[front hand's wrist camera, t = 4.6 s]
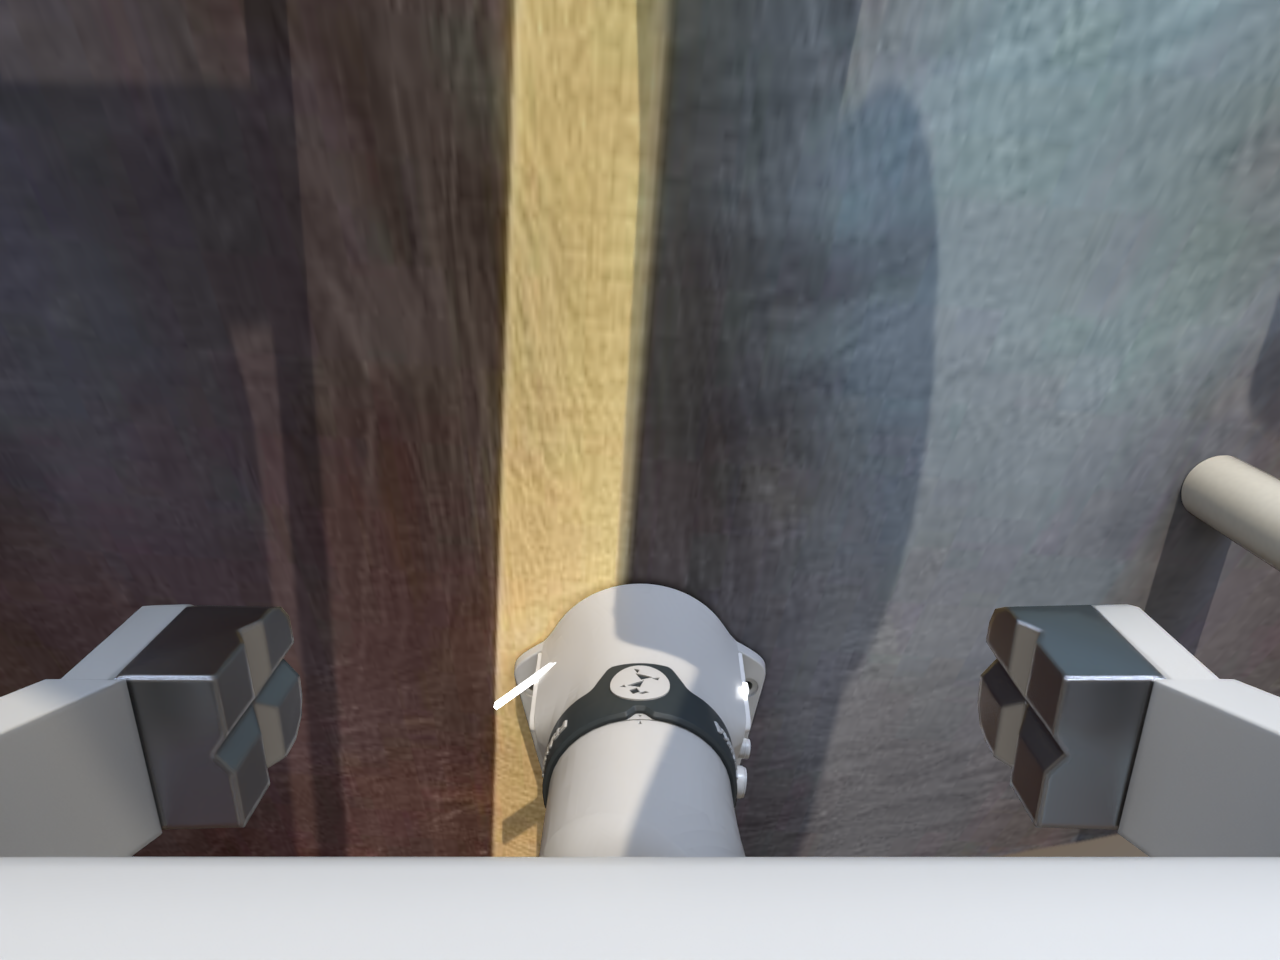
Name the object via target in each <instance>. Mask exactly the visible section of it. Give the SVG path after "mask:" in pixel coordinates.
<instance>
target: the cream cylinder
mask: <svg viewBox="0 0 1280 960" xmlns="http://www.w3.org/2000/svg"><path fill="white" fill-rule="evenodd" d="M1181 498H1182V502H1183V505H1184V507H1185V508H1186V510H1187V511H1188V512H1189V513H1190V514H1192V515H1193V516H1195V517H1196V518H1198V519H1199V520H1201V521H1203V522H1204V523H1206V524H1207V525H1209V526H1210V527H1212V528H1213V529H1215V530H1216V531H1218V532H1219V533H1221V534H1223V535H1224V536H1226V537H1227V538H1229V539H1230V540H1232V541H1233V542H1235V543H1236V544H1238V545H1240V546H1241V547H1243V548H1244V549H1246V550H1247V551H1249V552H1250V553H1252V554H1253V555H1255V556H1256V557H1258V558H1260V559H1261V560H1263V561H1264V562H1266V563H1267V564H1269V565H1270V566H1272V567H1273V568H1275V569H1276V570H1278V571H1280V479H1278V478H1276V477H1274V476H1272V475H1270V474H1268V473H1266V472H1264V471H1262V470H1260V469H1258V468H1256V467H1254V466H1252V465H1250V464H1248V463H1246V462H1244V461H1242V460H1240V459H1238V458H1235V457H1232V456H1215V457H1212V458H1209V459H1206V460H1204V461H1202V462H1201V463H1199V464H1198V465H1197V466H1195V467H1194V468H1193V469H1192V470H1191V471H1190V473H1189V474H1188V475H1187V477H1186V478H1185V481H1184V483H1183V486H1182V490H1181Z"/></svg>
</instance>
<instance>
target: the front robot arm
mask: <svg viewBox="0 0 1280 960" xmlns="http://www.w3.org/2000/svg"><path fill="white" fill-rule="evenodd" d="M293 642H294V639H293V634H292V629H291V624H290V619H289V616H288V614H287V613H286V612H285V611H284V610H283V609H282V607H266V606H212V605H196V606H193V605H191V604H179V605H152V606H142V607H141V608H140V609H139V610H138V611H137V612H135V613H134V614H133V615H132V616H131V617H130V618H129V619H128V620H126V621H125V622H124V623H123V624H122V625H121V626H120V627H119V628H117V629H116V630H115V631H114V632H113V633H112V634H111V635H110V636H108V637H107V638H106V639H105V640H104V641H103V642H102V643H101V644H99V645H98V646H97V647H96V648H95V649H94V650H93V651H92V652H90V653H89V654H88V655H87V656H86V657H85V658H84V659H83V660H81V661H80V662H79V663H78V664H77V665H76V666H75V667H74V668H72V669H71V670H70V671H69V672H68V673H67V674H66V675H65V676H63V677H62V678H61V679H45V680H43V681H40V682H38V683H35V684H33V685H30V686H28V687H25V688H22V689H20V690H17V691H15V692H12V693H10V694H7V695H5V696H2V697H0V960H1280V697H1278V696H1275V695H1273V694H1270V693H1268V692H1265V691H1263V690H1260V689H1257V688H1255V687H1252V686H1250V685H1247V684H1245V683H1242V682H1240V681H1237V680H1235V679H1219V678H1218V677H1217V676H1215V675H1214V674H1213V673H1212V672H1211V671H1210V670H1209V669H1208V668H1206V667H1205V666H1204V665H1203V664H1202V663H1201V662H1200V661H1199V660H1198V659H1196V658H1195V657H1194V656H1193V655H1192V654H1191V653H1190V652H1189V651H1187V650H1186V649H1185V648H1184V647H1183V646H1182V645H1181V644H1180V643H1178V642H1177V641H1176V640H1175V639H1174V638H1173V637H1172V636H1171V635H1169V634H1168V633H1167V632H1166V631H1165V630H1164V629H1163V628H1162V627H1161V626H1159V625H1158V624H1157V623H1156V622H1155V621H1154V620H1153V619H1152V618H1150V617H1149V616H1148V615H1147V614H1146V613H1145V612H1144V611H1143V610H1141V609H1140V608H1139V607H1136V606H1132V605H1129V604H1117V605H1094V606H1091V605H1066V606H1024V607H1003V608H998V609H995V611H994V613H993V615H992V617H991V620H990V622H989V627H988V633H987V639H986V642H987V644H988V646H989V647H990V649H991V650H992V652H993V653H994V655H995V656H996V658H997V659H996V660H995V661H994V662H993V663H992V664H991V665H990V666H989V667H988V668H987V669H986V670H985V671H984V672H983V673H982V675H981V677H980V685H979V693H978V711H979V721H980V727H981V730H982V733H983V736H984V739H985V742H986V744H987V745H988V747H989V749H990V751H991V753H992V754H993V756H994V757H995V758H997V759H998V760H1000V761H1001V762H1003V763H1005V764H1006V765H1008V766H1010V767H1011V768H1013V769H1012V775H1011V781H1010V785H1011V787H1012V788H1013V790H1014V792H1015V793H1016V795H1017V797H1018V798H1019V800H1020V802H1021V803H1022V805H1023V807H1024V808H1025V810H1026V812H1027V813H1028V815H1029V817H1030V818H1031V820H1032V822H1033V823H1034V825H1035V827H1040V828H1077V829H1114V830H1118V834H1119V835H1121V836H1122V837H1123V838H1125V839H1126V840H1128V841H1129V842H1130V843H1132V844H1133V845H1134V846H1136V847H1137V848H1138V849H1140V850H1141V851H1142V852H1144V853H1145V854H1146V855H1148V856H1149V857H745V853H744V850H743V846H742V842H741V839H740V834H739V830H738V826H737V821H736V815H735V810H734V808H735V805H736V799H737V798H738V799H741V798H743V797H744V795H745V791H746V784H747V771H746V768H745V767H743V766H740V763H741V759H748V758H749V755H750V749H751V743H750V739H748V735H749V732H750V728H751V725H752V721H753V718H754V714H755V711H756V707H757V704H758V700H759V697H760V694H761V690H762V687H763V683H764V680H765V675H766V670H765V662H764V660H763V659H762V658H761V657H760V656H759V655H758V654H757V653H755V652H754V651H752V650H751V649H749V648H748V647H746V646H744V645H742V644H741V643H739V642H737V641H736V640H735V639H734V638H733V637H732V636H731V635H730V634H729V632H728V631H727V630H726V628H725V627H724V625H723V624H722V622H721V621H720V620H719V619H718V617H717V616H716V615H715V614H714V613H713V612H712V611H711V610H710V609H709V608H708V607H706V606H705V605H704V604H702V603H701V602H700V601H698V600H697V599H695V598H693V597H691V596H690V595H688V594H685V593H683V592H681V591H678V590H676V589H672V588H669V587H665V586H660V585H654V584H626V585H620V586H615V587H611V588H608V589H604V590H602V591H599V592H597V593H595V594H592V595H590V596H589V597H587V598H585V599H583V600H582V601H580V602H579V603H578V604H576V605H575V606H574V607H573V608H571V609H570V610H569V611H568V612H567V613H566V614H565V615H564V616H563V617H562V619H561V620H560V621H559V623H558V624H557V625H556V627H555V628H554V630H553V631H552V632H551V634H550V635H549V636H548V637H547V638H546V639H545V640H544V641H543V642H541V643H539V644H538V645H536V646H534V647H533V648H531V649H529V650H528V651H526V652H525V653H523V654H522V655H521V656H520V657H519V658H518V659H517V660H516V662H515V671H514V675H515V680H516V683H517V687H515V688H514V689H513V690H511V691H510V692H508V693H507V694H506V695H504V696H503V697H502V698H500V699H499V700H497V701H496V702H495V704H494V708H495V709H496V710H497V709H499V708H500V707H501V706H503V705H504V704H506V703H507V702H508V701H510V700H511V699H513V698H514V697H515V696H517V695H518V694H520V697H521V700H522V704H523V707H524V711H525V714H526V718H527V721H528V725H529V728H530V731H531V735H532V738H533V742H534V745H535V749H536V752H537V756H538V759H539V763H540V766H541V770H542V777H543V799H544V805H545V808H546V812H545V819H544V826H543V833H542V840H541V847H540V854H539V857H131V856H132V855H134V854H135V853H137V852H138V851H139V850H141V849H142V848H143V847H145V846H146V845H147V844H149V843H150V842H151V841H153V840H154V839H156V838H157V837H158V836H160V835H161V834H162V830H166V829H202V828H238V827H245V825H246V823H247V822H248V820H249V818H250V817H251V815H252V813H253V812H254V810H255V808H256V807H257V805H258V803H259V802H260V800H261V798H262V797H263V795H264V793H265V792H266V790H267V788H268V787H269V785H270V781H269V775H268V769H267V768H269V767H270V766H272V765H274V764H275V763H277V762H279V761H280V760H282V759H283V758H285V757H286V756H287V754H288V752H289V751H290V749H291V747H292V745H293V743H294V742H295V740H296V736H297V732H298V728H299V724H300V720H301V716H302V690H301V683H300V676H299V675H298V673H297V672H296V671H295V670H294V669H293V668H292V667H291V666H290V665H289V664H288V663H287V662H286V661H285V660H284V659H283V658H284V656H285V655H286V653H287V652H288V650H289V649H290V647H291V646H292V644H293ZM746 681H749V682H751V683H750V684H747V683H746ZM532 684H534V685H532Z"/></svg>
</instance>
